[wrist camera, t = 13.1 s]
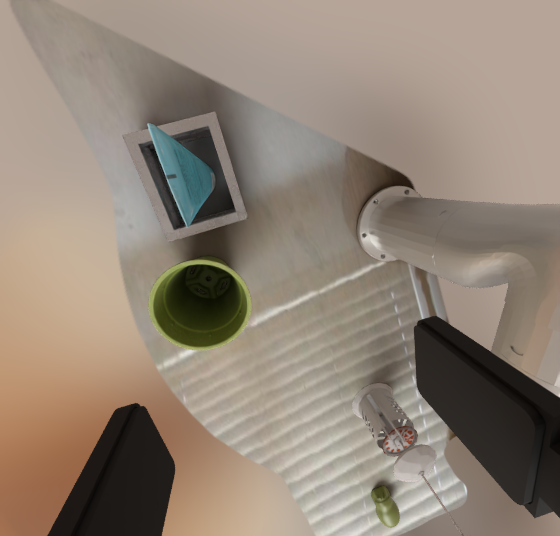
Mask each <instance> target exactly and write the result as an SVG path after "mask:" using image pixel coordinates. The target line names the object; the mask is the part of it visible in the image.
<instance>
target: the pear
mask: <svg viewBox="0 0 560 536" xmlns="http://www.w3.org/2000/svg"><path fill="white" fill-rule="evenodd" d="M372 498H373V500H374V502H375V505H376V513H377V515H378V518H379V519H380V521H381V522H382V523H383V524H384V525H385V526H387V527H395V526H396V525H397V524H398V522H399V519H400V514H399V509H398V507H397V505H396V503H395V502H394V500H392V498H391V496H390V494H389V491H388V489H387V488H386V487H384V485H383V486H380V487H378V488H376V489H374V490H372Z"/></svg>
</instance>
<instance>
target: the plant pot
mask: <svg viewBox="0 0 560 536" xmlns="http://www.w3.org/2000/svg"><path fill="white" fill-rule="evenodd" d="M200 264H201V265H200ZM194 266H196V269H195V271H194V273H193V274H191V273H190V272H191V270H192V268H193V267H194ZM208 276H209V277H211V280H210V281H207V280H206V277H208ZM224 281H226V282H227V283H226V286H225V287H224V288H223V289H221V286H222V285H223V284H224ZM197 289H200V290H202V291H204V292H206V293H205V294H202V293H199V292H197ZM217 293H218V294H217ZM251 304H252V303H251V296H250V292H249V290H248V288H247V286H246V284H245V282H244V281H243V279H242V278H241V277H240V276H239V275H238V274H237V273H236V272H235V271H234V270H232V269H231V268H229V267H228V265H227V264H226V263H225V262H224V261H222V260H221V259H219V258H217V257H213V256H203V257H199V258H197V259H195V260H189V261H185V262H182V263H179V264H177V265H175V266H173V267H171V268H169V269H168V270H167V271H165V272H164V273H163V274H162V275H161V276H160V277H159V278H158V279H157V281H156V282H155V284H154V285H153V287H152V290H151V292H150V296H149V303H148V306H149V314H150V318H151V320H152V323H153V324H154V326H155V328H156V329H157V331H158V332H159V333H160V334H161V335H162V336H163V337H164V338H165V339H167V340H168V341H169V342H171V343H173V344H175V345H177V346H179V347H182V348H185V349H189V350H210V349H214V348H218V347H221V346H223V345H225V344H227V343H229V342H230V341H232V340H233V339H235V338H236V337H237V336H238V335H239V334H240V333H241V332H242V331H243V329H244V328H245V326H246V325H247V323H248V320H249V317H250V314H251Z"/></svg>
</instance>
